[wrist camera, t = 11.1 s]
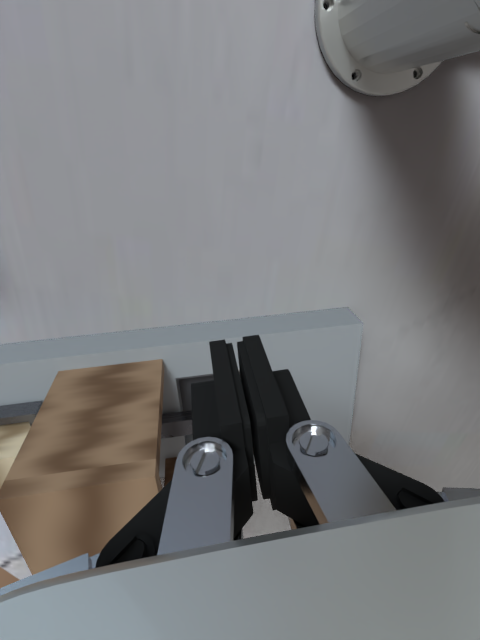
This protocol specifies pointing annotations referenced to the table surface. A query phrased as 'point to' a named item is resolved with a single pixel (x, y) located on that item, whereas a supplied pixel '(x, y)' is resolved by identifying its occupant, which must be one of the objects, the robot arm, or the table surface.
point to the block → (11, 445)
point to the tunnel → (86, 462)
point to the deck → (205, 361)
